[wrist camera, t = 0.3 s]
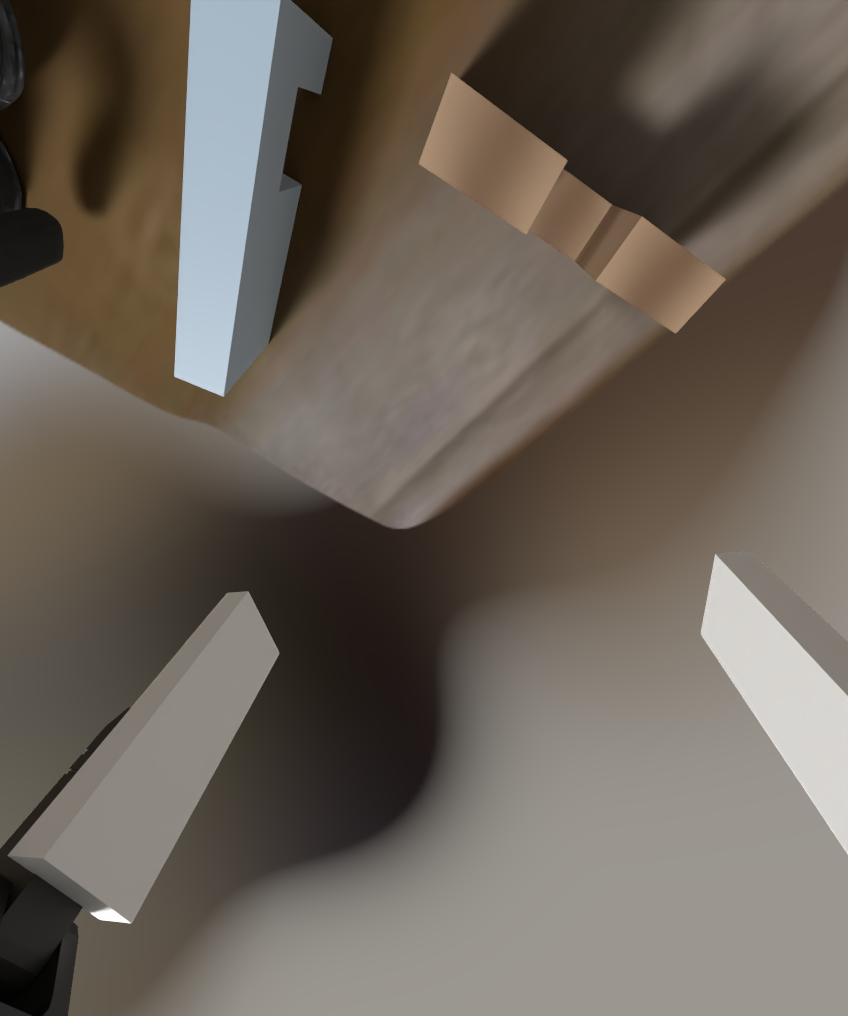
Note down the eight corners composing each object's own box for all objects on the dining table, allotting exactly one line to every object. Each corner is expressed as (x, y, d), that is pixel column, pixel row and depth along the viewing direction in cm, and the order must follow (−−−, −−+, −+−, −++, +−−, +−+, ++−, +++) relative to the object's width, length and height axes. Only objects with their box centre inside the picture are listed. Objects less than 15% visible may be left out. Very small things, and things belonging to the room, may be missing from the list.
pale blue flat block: (276, -2, 20) (194, -72, 13) (332, 38, 21) (281, -8, 14) (230, 326, 31) (174, 376, 25) (268, 344, 32) (223, 396, 25)
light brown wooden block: (425, 156, 24) (418, 163, 17) (449, 92, 22) (451, 72, 15) (622, 288, 28) (675, 333, 22) (656, 244, 26) (725, 279, 20)
